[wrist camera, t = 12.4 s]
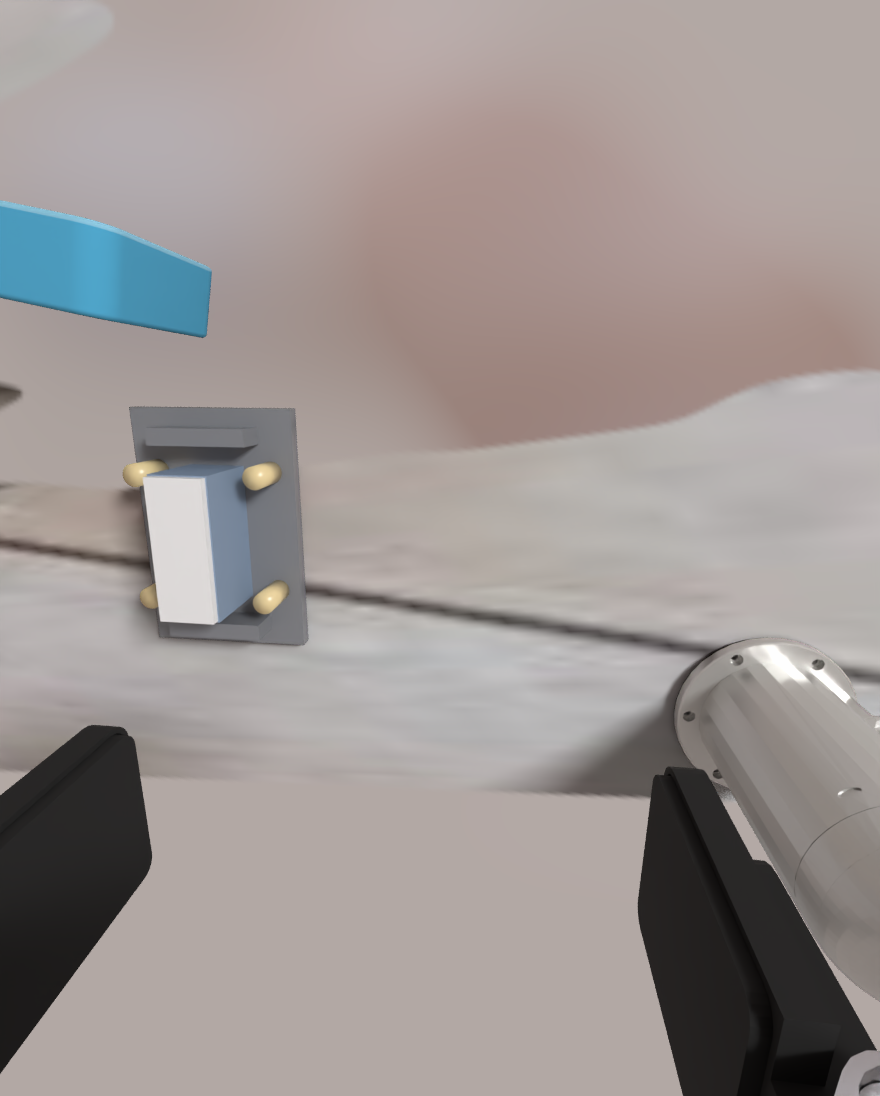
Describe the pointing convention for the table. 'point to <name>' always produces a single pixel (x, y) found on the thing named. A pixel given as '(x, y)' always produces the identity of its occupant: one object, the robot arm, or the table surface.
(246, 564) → the block
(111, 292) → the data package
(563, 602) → the table surface
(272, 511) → the tray
